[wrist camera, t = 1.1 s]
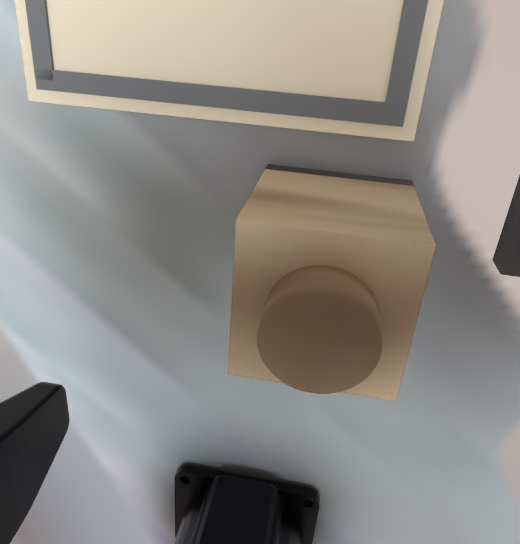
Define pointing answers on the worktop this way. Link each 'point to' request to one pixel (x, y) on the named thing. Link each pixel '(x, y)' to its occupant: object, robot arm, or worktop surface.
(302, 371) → the stamp
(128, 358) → the worktop surface
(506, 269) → the ink pad
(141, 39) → the cream square plate
